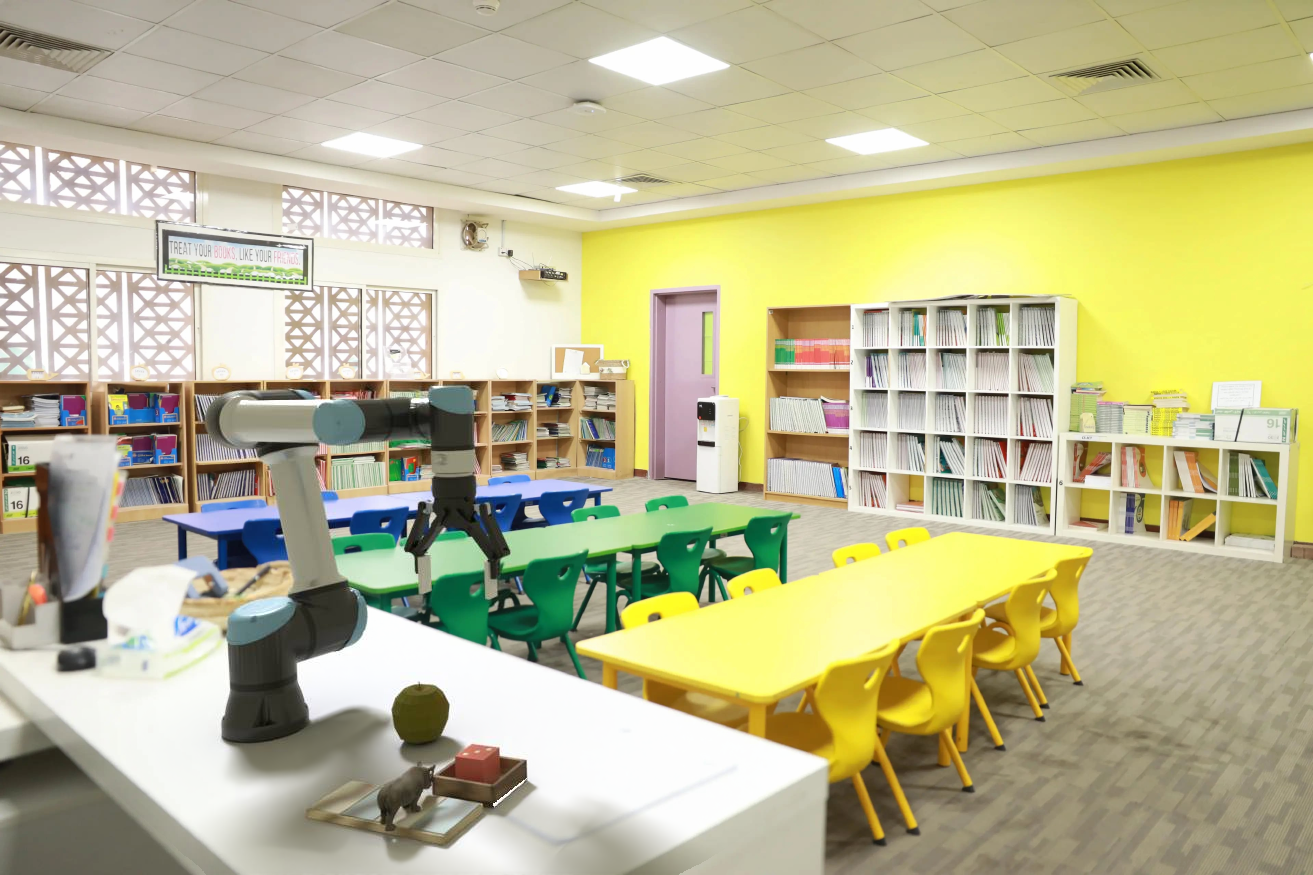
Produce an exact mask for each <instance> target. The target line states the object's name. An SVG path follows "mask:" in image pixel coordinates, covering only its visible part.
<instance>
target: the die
mask: <svg viewBox="0 0 1313 875" xmlns="http://www.w3.org/2000/svg"><path fill="white" fill-rule="evenodd" d="M500 754H501V753H500V747H497V746H491V745H490V746H489V745H483V744H475V743H471V744H470V745H468V746H467V747H466V748H463V750H461V751H460V752H459V753H458V754H456V755H455V756H454V760H455V772H456V779H462V780H468V781H474V782H480V783H486V784H494V783H495V782H496V781H497V780H498V779H500V756H501V755H500Z"/></svg>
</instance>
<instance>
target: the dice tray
mask: <svg viewBox="0 0 1313 875" xmlns="http://www.w3.org/2000/svg"><path fill="white" fill-rule="evenodd" d="M527 762H528V760H527V759H525V758H524V759H523V758H518V757H510V756H504V755H500V779H498V780H497V781H496V782H495V783H494V784H486V783H480V782H474V781H468V780H462V779H456V772H455V759H454V760H453V761H451V762H450V763H449V764H447V765H445V767H443V768H441V769H440V770H439V771H437V772H436V773H434V775H433V778H432V783H431V784H432V786H431V790H432V792H431V793H432V794H431V795H436V796H442V797H447V798H453V799H459V800H464V801H470V802H476V803H481V804H483V808H484V807H486V808H490V809H495V808H494V806H493V803H495V802H497V800H499V799H500V798H501V797H503V796H504V795H505V794H507V793H508V792H509V791H510V790H512V789H513V788H514V787H515V786H517V785H518V784H519V783H521V782H522V781H523V780H525V779H526V778H527V779H528V763H527Z"/></svg>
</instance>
